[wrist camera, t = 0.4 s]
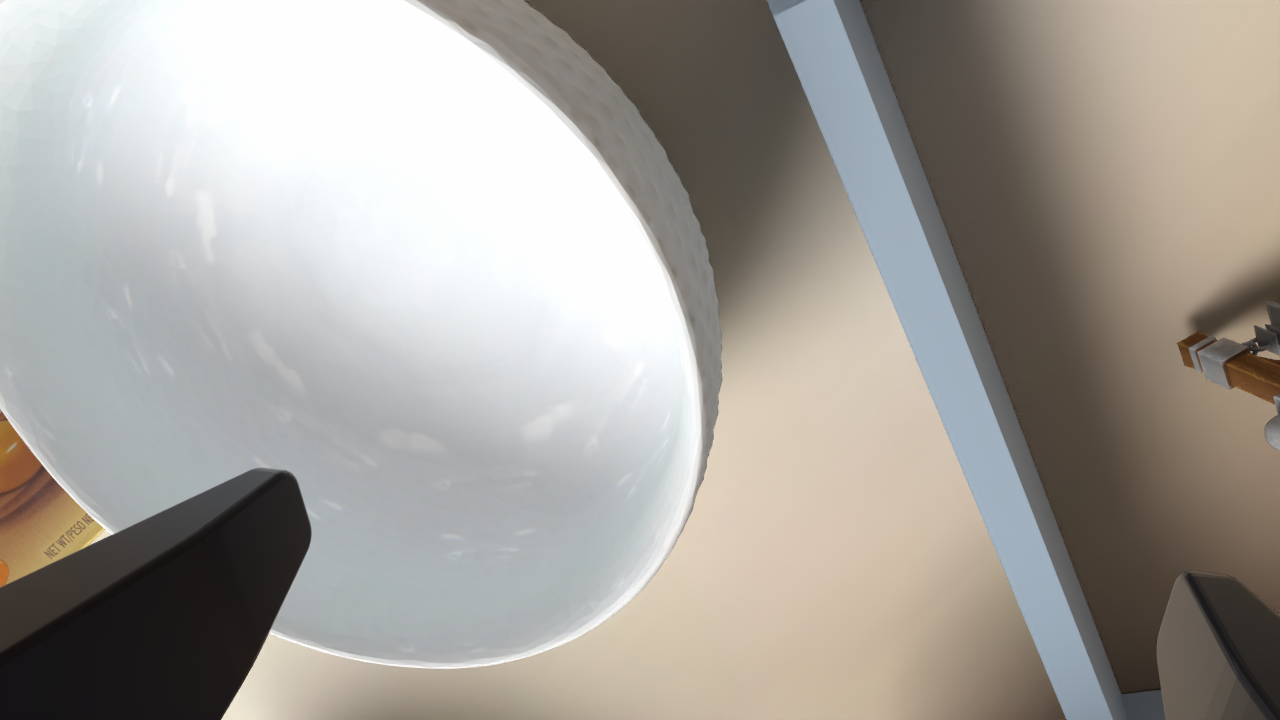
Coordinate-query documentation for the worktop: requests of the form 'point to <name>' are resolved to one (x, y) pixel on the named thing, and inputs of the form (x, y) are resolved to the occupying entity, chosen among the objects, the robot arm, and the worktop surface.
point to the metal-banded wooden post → (1242, 364)
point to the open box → (950, 345)
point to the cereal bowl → (360, 302)
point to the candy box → (35, 512)
